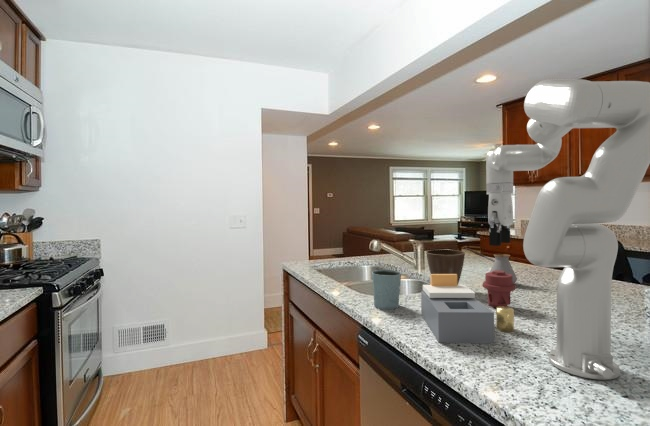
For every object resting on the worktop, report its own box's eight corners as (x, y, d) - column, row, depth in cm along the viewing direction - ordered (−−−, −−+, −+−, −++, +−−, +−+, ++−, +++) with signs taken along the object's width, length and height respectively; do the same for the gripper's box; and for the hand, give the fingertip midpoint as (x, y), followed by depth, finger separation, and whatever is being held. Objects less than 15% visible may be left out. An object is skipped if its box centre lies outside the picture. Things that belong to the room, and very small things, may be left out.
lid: (475, 298, 101) (475, 280, 101) (429, 297, 102) (429, 281, 102) (464, 289, 111) (463, 273, 111) (422, 289, 112) (422, 273, 112)
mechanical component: (510, 303, 123) (519, 312, 113) (479, 302, 125) (487, 311, 115) (509, 268, 122) (519, 274, 113) (479, 268, 124) (486, 274, 115)
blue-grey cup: (367, 303, 126) (367, 270, 125) (391, 300, 129) (391, 268, 129) (381, 311, 116) (381, 276, 116) (407, 308, 120) (406, 273, 119)
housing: (494, 343, 89) (494, 312, 89) (438, 342, 90) (438, 312, 90) (465, 315, 111) (465, 290, 111) (421, 315, 112) (421, 290, 112)
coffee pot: (519, 283, 152) (519, 249, 151) (513, 288, 143) (513, 252, 142) (469, 277, 165) (469, 246, 165) (461, 282, 156) (460, 248, 156)
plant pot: (461, 297, 131) (461, 255, 131) (422, 292, 139) (421, 253, 139) (468, 288, 144) (467, 250, 144) (431, 284, 152) (431, 248, 151)
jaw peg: (516, 332, 96) (516, 311, 96) (500, 332, 97) (500, 310, 96) (509, 326, 101) (509, 306, 100) (493, 326, 101) (493, 306, 101)
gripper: (504, 188, 100) (504, 247, 100) (520, 189, 112) (520, 242, 113) (477, 189, 105) (478, 246, 105) (495, 190, 117) (496, 241, 118)
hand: (500, 244), depth 109 cm, fingers open, 9 cm apart
